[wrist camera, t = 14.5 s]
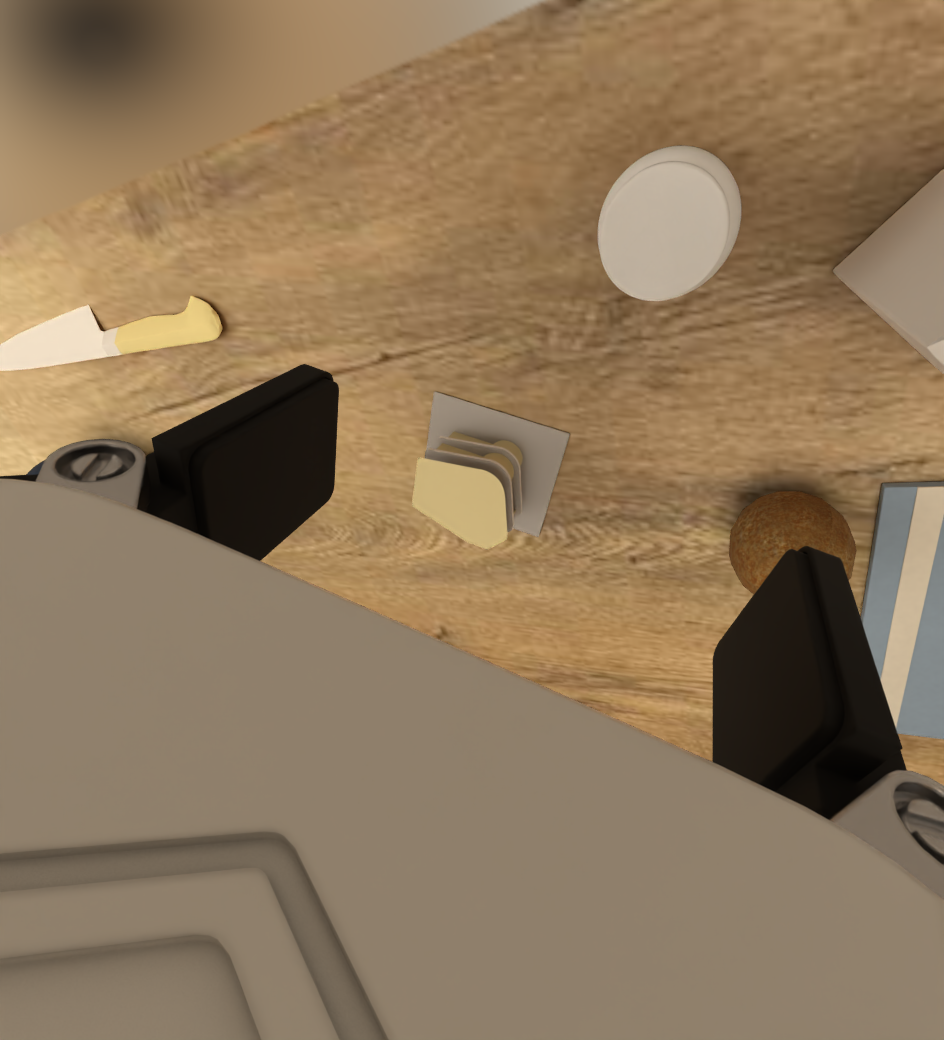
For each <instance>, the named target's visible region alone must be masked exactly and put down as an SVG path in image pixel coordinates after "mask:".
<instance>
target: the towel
mask: <svg viewBox="0 0 944 1040" xmlns="http://www.w3.org/2000/svg"><path fill="white" fill-rule="evenodd" d="M861 621H862V624H863V627H864V630H865V634H866V637H867V640H868V643H869V646H870V649H871V652H872V655H873V658H874V662H875V665H876V668H877V671H878V674H879V677H880V680H881V683H882V686H883V690H884V693H885V696H886V699H887V702H888V705H889V708H890V711H891V715H892V718H893V721H894V724H895V727H896V730H897V733H899V734H907V735H915V736H923V737H931V738H939V739H944V481H942V482H907V483H882V487H881V493H880V499H879V506H878V512H877V518H876V525H875V531H874V538H873V544H872V550H871V557H870V563H869V569H868V576H867V582H866V588H865V595H864V601H863V608H862V614H861Z"/></svg>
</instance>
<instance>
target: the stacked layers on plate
mask: <svg viewBox="0 0 944 1040" xmlns="http://www.w3.org/2000/svg"><path fill="white" fill-rule="evenodd" d="M569 435H570V434H569V433H566V432H562V431H559V430H556V429H553V428H550V427H546V426H543V425H540V424H537V423H534V422H530V421H527V420H524V419H521V418H518V417H514V416H511V415H508V414H505V413H502V412H498V411H495V410H492V409H489V408H486V407H483V406H479V405H476V404H473V403H470V402H467V401H463V400H460V399H457V398H454V397H451V396H447V395H444V394H441V393H438V392H435V391H434V396H433V404H432V412H431V419H430V427H429V435H428V442H427V450H426V452H425V459H424V458H418V459H417V467H416V476H415V484H414V492H413V501H412V506H413V507H414V508H416V509H417V510H419V511H420V512H422V513H423V514H425V515H426V516H428V517H429V518H431V519H433V520H434V521H436V522H437V523H439V524H440V525H442V526H443V527H445V528H446V529H448V530H449V531H451V532H453V533H454V534H456V535H457V536H459V537H460V538H462V539H463V540H465V541H466V542H468V543H470V544H473V545H476V546H478V547H481V548H484V549H490V548H492V547H494V546H496V545H498V544H500V543H502V542H504V541H506V539H507V532H509V531H511V530H512V529H513V528H514V529H517V530H519V531H522V532H525V533H528V534H531V535H533V536H536V537H539V534H540V531H541V527H542V524H543V521H544V517H545V514H546V511H547V508H548V504H549V501H550V498H551V494H552V491H553V488H554V485H555V481H556V478H557V475H558V471H559V468H560V465H561V462H562V458H563V455H564V452H565V448H566V445H567V442H568V439H569Z"/></svg>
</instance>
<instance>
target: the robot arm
mask: <svg viewBox="0 0 944 1040" xmlns="http://www.w3.org/2000/svg"><path fill="white" fill-rule="evenodd" d="M338 397H339V387H338V384H337V383H336V382H333V377H332V375H331V374H330V373H328V372H326V371H323V370H320V369H317V368H315V367H312V366H309V365H306V364H303V365H300V366H298V367H296V368H294V369H292V370H290V371H288V372H286V373H284V374H282V375H280V376H278V377H276V378H273V379H271V380H269V381H267V382H265V383H263V384H261V385H259V386H257V387H255V388H253V389H251V390H249V391H247V392H245V393H243V394H241V395H239V396H237V397H235V398H233V399H231V400H229V401H227V402H225V403H223V404H221V405H219V406H217V407H214V408H212V409H210V410H208V411H206V412H204V413H202V414H200V415H198V416H196V417H194V418H192V419H190V420H188V421H186V422H184V423H182V424H180V425H178V426H176V427H174V428H172V429H170V430H168V431H166V432H164V433H162V434H160V435H157V436H155V437H153V438H152V443H153V448H154V452H153V453H151V454H149V455H147V456H145V453H144V452H143V451H142V450H141V449H140V448H139V447H137V446H135V445H133V444H131V443H128V442H124V441H120V440H111V439H95V440H86V441H81V442H76V443H72V444H69V445H67V446H64V447H62V448H59V449H58V450H56V451H55V452H53V453H52V454H50V455H49V456H48V457H47V459H46V460H45V461H44V463H43V465H42V468H41V470H40V472H39V474H32V475H15V476H0V1040H944V786H943V785H942V784H940V783H938V782H936V781H935V780H933V779H931V778H929V777H927V776H924V775H921V774H919V773H916V772H913V771H907V770H906V767H905V763H904V760H903V757H902V754H901V751H900V750H901V749H902V746H901V743H900V739H899V736H898V733H897V730H896V727H895V724H894V721H893V718H892V715H891V711H890V708H889V705H888V702H887V699H886V696H885V693H884V690H883V686H882V683H881V680H880V677H879V674H878V671H877V668H876V665H875V662H874V658H873V655H872V652H871V649H870V646H869V643H868V640H867V637H866V634H865V630H864V627H863V624H862V621H861V618H860V615H859V612H858V609H857V605H856V602H855V599H854V596H853V593H852V590H851V587H850V584H849V581H848V577H847V574H846V571H845V568H844V565H843V562H842V560H841V558H839V557H836V556H834V555H831V554H828V553H825V552H823V551H820V550H817V549H814V548H812V547H809V546H804V547H802V548H800V549H799V550H798V551H797V550H794V549H789V550H788V551H786V552H785V554H784V555H783V556H782V557H781V559H780V560H779V561H778V563H777V564H776V566H775V567H774V568H773V570H772V571H771V572H770V574H769V575H768V576H767V578H766V579H765V580H764V582H763V583H762V585H761V586H760V587H759V589H758V590H757V591H756V593H755V594H754V595H753V597H752V598H751V599H750V601H749V602H748V603H747V605H746V606H745V608H744V609H743V610H742V612H741V613H740V614H739V616H738V617H737V618H736V620H735V621H734V622H733V624H732V625H731V626H730V628H729V629H728V631H727V632H726V633H725V635H724V636H723V637H722V639H721V640H720V641H719V643H718V645H717V647H716V649H715V652H714V656H713V762H711V761H709V760H706V759H704V758H702V757H700V756H698V755H695V754H693V753H691V752H689V751H687V750H684V749H682V748H680V747H678V746H676V745H673V744H671V743H669V742H667V741H664V740H662V739H660V738H658V737H656V736H653V735H651V734H649V733H647V732H644V731H642V730H640V729H638V728H636V727H633V726H631V725H629V724H627V723H624V722H622V721H620V720H618V719H616V718H613V717H611V716H609V715H607V714H604V713H602V712H600V711H598V710H595V709H593V708H591V707H589V706H587V705H584V704H582V703H580V702H578V701H575V700H573V699H571V698H569V697H566V696H564V695H562V694H560V693H558V692H555V691H553V690H551V689H549V688H546V687H544V686H542V685H540V684H537V683H535V682H533V681H531V680H529V679H526V678H524V677H522V676H520V675H517V674H515V673H513V672H511V671H509V670H506V669H504V668H502V667H500V666H497V665H495V664H493V663H490V662H488V661H486V660H484V659H481V658H479V657H477V656H475V655H472V654H470V653H468V652H466V651H463V650H461V649H459V648H457V647H454V646H452V645H450V644H448V643H445V642H443V641H441V640H439V639H436V638H434V637H432V636H430V635H427V634H425V633H423V632H421V631H418V630H416V629H414V628H411V627H409V626H407V625H405V624H402V623H400V622H398V621H396V620H393V619H391V618H389V617H387V616H384V615H382V614H380V613H377V612H375V611H373V610H371V609H368V608H366V607H364V606H362V605H359V604H357V603H355V602H353V601H350V600H348V599H346V598H343V597H341V596H339V595H337V594H334V593H332V592H330V591H327V590H325V589H323V588H320V587H318V586H316V585H314V584H311V583H309V582H307V581H304V580H302V579H300V578H297V577H295V576H293V575H291V574H288V573H286V572H284V571H281V570H279V569H277V568H275V567H272V566H270V565H268V564H265V563H263V562H261V561H260V560H262V559H263V558H264V557H265V556H266V555H267V554H268V553H270V552H271V551H272V550H273V549H274V548H275V547H276V546H278V545H279V544H280V543H281V542H282V541H283V540H284V539H285V538H287V537H288V536H289V535H290V534H291V533H292V532H293V531H295V530H296V529H297V528H298V527H299V526H300V525H301V524H303V523H304V522H305V521H306V520H307V519H308V518H309V517H311V516H312V515H313V514H314V513H315V512H316V511H317V510H318V509H320V508H321V507H322V506H323V505H324V504H325V503H326V502H327V501H328V500H329V499H330V497H331V495H332V493H333V490H334V481H335V460H336V439H337V418H338Z"/></svg>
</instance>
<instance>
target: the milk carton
mask: <svg viewBox="0 0 944 1040" xmlns="http://www.w3.org/2000/svg"><path fill="white" fill-rule="evenodd" d="M833 272H834V274H835V275H836V276H837V277H838V278H839V279H840V280H841V281H842V282H843V283H844V284H845V285H847V286H848V287H849V288H850V289H851V290H852V291H853V292H854V293H855V294H856V295H857V296H858V297H859V298H861V299H862V300H863V301H864V302H865V303H866V304H867V305H868V306H869V307H870V308H871V309H872V310H874V311H875V312H876V313H877V314H878V315H879V316H880V317H881V318H882V319H883V320H884V321H885V322H887V323H888V324H889V325H890V326H891V327H892V328H893V329H894V330H895V331H896V332H897V333H898V334H899V335H901V336H902V337H903V338H904V339H905V340H906V341H907V342H908V343H909V344H910V345H911V346H912V347H914V348H915V349H916V350H917V351H918V352H919V353H920V354H921V355H922V356H923V357H924V358H926V359H927V360H928V361H929V362H930V363H931V364H932V365H934V366H935V367H936V368H937V369H938V370H939V371H941V372H942V373H943V374H944V169H943V170H941V171H940V172H939V173H938V174H937V175H936V176H935V177H934V178H933V179H932V180H930V181H929V182H928V183H927V184H926V185H925V186H924V187H923V188H922V189H921V190H920V191H918V192H917V193H916V194H915V195H914V196H913V197H912V198H911V199H910V200H909V201H908V202H906V203H905V204H904V205H903V206H902V207H901V208H900V209H899V210H898V211H897V212H895V213H894V214H893V215H892V216H891V217H890V218H889V219H888V220H887V221H886V222H885V223H883V224H882V225H881V226H880V227H879V228H878V229H877V230H876V231H875V232H874V233H872V234H871V235H870V236H869V237H868V238H867V239H866V240H865V241H864V242H863V243H862V244H860V245H859V246H858V247H857V248H856V249H855V250H854V251H853V252H852V253H851V254H850V255H848V256H847V257H846V258H845V259H844V260H843V261H842V262H841V263H840V264H839V265H837V266H836V267H835V268H834V269H833Z"/></svg>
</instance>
